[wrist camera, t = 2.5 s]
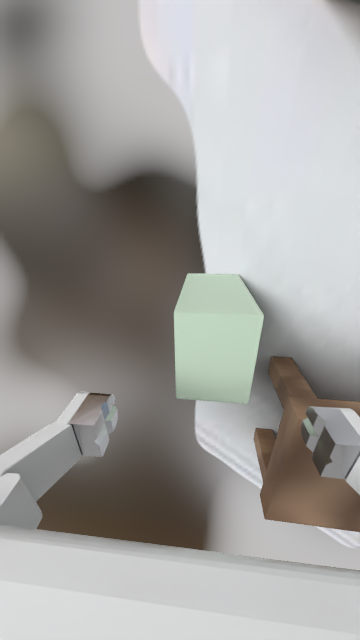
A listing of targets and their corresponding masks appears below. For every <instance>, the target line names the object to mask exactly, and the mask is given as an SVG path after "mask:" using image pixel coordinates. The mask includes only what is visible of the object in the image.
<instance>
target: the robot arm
mask: <svg viewBox="0 0 360 640" xmlns="http://www.w3.org/2000/svg"><path fill="white" fill-rule="evenodd" d="M114 402H115V397H114V395H113V394H103V393H92V392H91V393H90V392H79V393H77V394H76V395H75V397H74V398H73V399H72V401H71V402H70V403H69V405H68V406H67V407H66V409H65V410H64V412H63V413H62V414H61V416H60V417H59V418H58V420H57V421H56V422H55V423H51V424H49V425H48V426H46V427H44V428H43V429H41V430H40V431H38V432H36V433H35V434H33V435H32V436H30V437H29V438H27V439H26V440H24V441H22V442H21V443H19V444H17V445H16V446H14V447H13V448H11V449H9V450H8V451H6V452H5V453H3V454H1V455H0V640H360V571H359V570H352V569H344V568H336V567H328V566H320V565H312V564H304V563H297V562H289V561H281V560H273V559H265V558H258V557H250V556H242V555H234V554H225V553H218V552H210V551H203V550H195V549H187V548H179V547H171V546H163V545H155V544H148V543H139V542H132V541H124V540H116V539H108V538H100V537H91V536H84V535H77V534H68V533H61V532H52V531H45V530H37V529H36V528H37V526H38V524H39V522H40V520H41V518H42V512H41V510H40V508H39V507H38V505H37V503H36V501H37V500H38V499H39V498H40V497H41V496H42V495H43V494H44V493H45V492H46V491H47V490H48V489H49V488H50V487H51V486H52V485H53V484H55V482H57V481H58V480H59V479H60V478H61V477H62V476H63V475H64V474H65V473H66V472H67V471H68V470H69V469H70V468H71V467H72V466H73V465H74V464H75V463H76V462H77V461H78V460H79V459H80V458H81V457H82V455H84V456H100V457H102V456H103V454H104V452H105V449H106V447H107V445H108V442H109V438H108V435H109V434H110V433H111V432H113V431H114V428H115V426H116V422H117V415H118V412H117V408H116V407H115V406H114ZM306 415H307V418H306V419H304V420H303V421H302V425H301V434H302V438H303V441H304V443H305V445H306V446H307V447H308V448H309V449H310V450H311V451H312V452H313V454H312V457H311V458H312V460H313V462H314V464H315V466H316V468H317V470H318V472H319V474H320V476H321V477H329V478H338V479H346V482H347V483H348V484H349V485H350V486H351V487H352V488H353V489H354V490H355V491H356V492H357V493H358V494H359V495H360V417H359V416H358V415H357V414H356V412H355V411H354V410H352V409H350V408H333V407H313V406H309V407H308V408H307V410H306Z"/></svg>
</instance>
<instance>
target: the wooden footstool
mask: <svg viewBox="0 0 360 640" xmlns="http://www.w3.org/2000/svg"><path fill="white" fill-rule="evenodd" d="M268 373H269V375H270V378H271V380H272V383H273V385H274V387H275V390H276V392H277V395H278V397H279V400H280V402H281V404H282V407H283V409H284V412H283V416H282V419H281V423H280V426H279V430H278V433H277V437H276V440H275V437H274V434H273V430H269V429H258V428H256V430H255V435H254V443H255V447H256V452H257V456H258V461H259V465H260V470H261V474H262V479H263V486H262V489H261V493H260V498H261V503H262V507H263V513H264V517H265V519H268V520H275V521H282V522H290V523H297V524H304V525H312V526H319V527H326V528H334V529H341V530H348V531H356V532H360V495H359V494H358V493H357V492H356V491H355V490H354V489H353V488H352V487H351V486H350V485H349V484H348V483H347V482H346V479H338V478H329V477H321V476H320V474H319V472H318V470H317V468H316V466H315V464H314V462H313V460H312V458H311V457H312V454H313V452H312V451H311V450H310V449H309V448H308V447H307V446H306V445H305V443H304V441H303V438H302V434H301V425H302V421H303V420H304V419H306V418H307V415H306V410H307V408H308V407H309V406H313V407H333V408H350V409H352V410H354V411H355V412H356V414H357V415H358V416H359V417H360V402H355V401H342V400H328V399H317V397H316V396H315V394H314V392H313V391H312V389H311V388H310V386H309V384H308V383H307V381H306V380H305V378H304V377H303V375H302V373H301V372H300V370H299V369H298V367H297V366H296V364H295V362H294V361H293V359H292V358H288V357H271V360H270V365H269V370H268Z"/></svg>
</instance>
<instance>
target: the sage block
mask: <svg viewBox="0 0 360 640" xmlns="http://www.w3.org/2000/svg"><path fill="white" fill-rule="evenodd" d="M263 319H264V315H263V313H262V311H261V310H260V308H259V307H258V305H257V303H256V302H255V300H254V299H253V297H252V295H251V294H250V292H249V291H248V289H247V287H246V286H245V284H244V282H243V281H242V279H241V278H240V276H239V274H187V277H186V280H185V283H184V286H183V288H182V291H181V294H180V297H179V300H178V303H177V305H176V308H175V311H174V331H175V332H174V333H175V369H176V398H179V399H191V400H204V401H216V402H229V403H242V404H248V403H249V397H250V392H251V386H252V381H253V375H254V369H255V364H256V358H257V353H258V347H259V342H260V336H261V330H262V325H263Z"/></svg>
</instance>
